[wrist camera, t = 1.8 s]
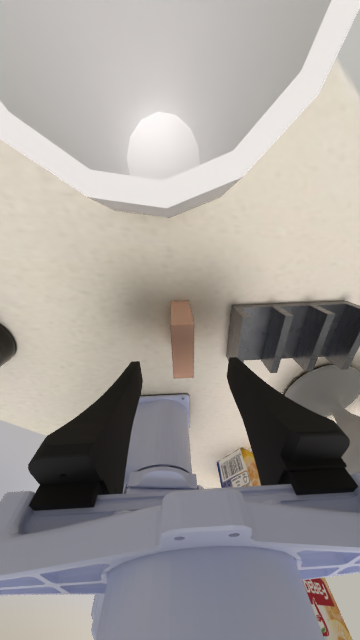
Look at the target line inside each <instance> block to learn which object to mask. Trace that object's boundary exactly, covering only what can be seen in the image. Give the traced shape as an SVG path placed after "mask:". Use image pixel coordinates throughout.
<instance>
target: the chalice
mask: <svg viewBox="0 0 360 640" xmlns="http://www.w3.org/2000/svg"><path fill="white" fill-rule="evenodd" d="M359 393H360V372H359V371H358V370H357V369H356V368H354V367H351V366H349V367H348V369H344V370H341V369H339V368H338V367H337V366H336V365H327V366H323V367H319V368H317V369H314V370H312V371H310V372H308V373H306V374H304V375H302V376H301V377H300V378H298V379H297V380H296V381H294V383H293V384H292V385H291V386H290V387H289V388H288V390H287V391H286V393H285V395H284V396H286V397H288V398H289V399H291V400H293V401H294V402H296V403H298V404H300V405H301V406H303V407H305V408H307V409H309V410H311V411H313V412H315V413H317V414H319V415H322V416H324V417H327V416H330V415H333V416H334V418H335V420H336V422H337V425H338V426H339V427H340V428H341V430H342V431H343V432H344V433H345V434H346V435H347V436H348V438H349V439H350V445H349V447H348V449H347V450H346V452H345V453H344V454H343V456H342V457H341V458H342V459H343V461H344V462H345V463H346V465H347V467H346V468H345V469H346V470H347V472H348V473H349V474H350V475H351V474H353V473H357V472H360V417H359V416H356V415H354V414H351V413H350V412H348V411H347V410H345V409H344V408H346V407H347V406H348V405H350V404H351V403H352V402H353V401H354V400H355V399H356V398H357V397H358V395H359Z"/></svg>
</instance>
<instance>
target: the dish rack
mask: <svg viewBox="0 0 360 640" xmlns="http://www.w3.org/2000/svg"><path fill="white" fill-rule="evenodd" d="M359 346H360V306H359V305H356V304H353V303H350V302H348V301H326V302H300V303H274V304H249V305H232V311H231V320H230V328H229V337H228V346H227V355H226V357H227V359H228V361H229V357H237V358H238V359H239V360H241V361H242V362H243V361H244V360H260V359H261V361H262V362H263V363H264V365H265V366H266V368H267V369H268V370H269V372H270V373H277V371H278V367H279V364H280V360H281V359H282V358H293V359H294V360H295V361H296V362H297V363H298V364H299V365H300V366H301V367H302V368H303V369H304V370H305V371H312V370H313V368H314V366H315V363H316V361H317V358H318V357H325V358H327V359H328V360H329V361H330V362H332V363H333V364H334V365H336V366H337V367H338V368H339V369H341V370H344V369H348V367H349V365H350V363H351V361H352V360H353V358H354V356H355V354H356V352H357V350H358V348H359Z"/></svg>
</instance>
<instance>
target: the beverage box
mask: <svg viewBox="0 0 360 640" xmlns="http://www.w3.org/2000/svg"><path fill="white" fill-rule="evenodd" d="M217 466H218V471H219V476H220V482H221V487H222V488H231V487H248V486H261V483H260V479H259V475H258V471H257V467H256V463H255V459H254V456H253V453H251V452H249V451H247V450H245V449H243V448H240V449H238V450H237V451H235V452H233V453H232V454H230V455H228V456H227V457H225V458H223V459H222V460H220V461H219V462H217ZM302 581H303V584H304V586H305V589H306V592H307V594H308V597H309V600H310V602H311V605H312V608H313V610H314V613H315V616H316V618H317V621H318V624H319V626H320V629H321V631H322V634H323V637H324V639H325V640H352V638H351V636H350V634H349V631H348V629H347V627H346V625H345V622H344V620H343V618H342V616H341V614H340V611H339V609H338V607H337V604H336V602H335V600H334V598H333V595H332V593H331V591H330V589H329V586H328V584H327V582H326V580H325V577H323V578H315V579H308V580H302Z"/></svg>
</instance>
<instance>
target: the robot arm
mask: <svg viewBox="0 0 360 640" xmlns="http://www.w3.org/2000/svg"><path fill="white" fill-rule="evenodd" d="M227 379H228V383H229V386H230V389H231V392H232V394H233V397H234V399H235V402H236V404H237V407H238V409H239V411H240V414H241V416H242V419H243V422H244V425H245V428H246V431H247V435H248V438H249V441H250V445H251V448H252V452H253V456H254V459H255V463H256V467H257V471H258V475H259V479H260V483H261V486H248V487H231V488H213V489H203V487H202V486H200V485H197V480H196V474H192V468H191V455H190V442H189V430H188V428H189V427H190V397H189V395H188V394H181V395H160V396H140V395H141V389H142V382H143V380H142V374H141V368H140V362H139V361H137V362H131V363H130V364H129V366H128V367H127V368H126V369H125V371H124V372H123V373H122V374H121V376H120V377H119V378H118V379H117V380H116V382H115V383H114V384H113V385H112V386H111V387H110V388H109V389H108V390H107V391H106V392H105V393H104V394H103V395H102V396H101V397H100V398H99V399H98V400H97V401H96V402H95V403H94V404H92V405H91V406H90V407H89V408H87V409H86V410H85V411H84V412H82V413H81V414H80V415H78V416H77V417H76V418H74V419H73V420H71V421H70V422H69V423H67V424H66V425H64V426H62V427H61V428H59V429H58V430H56V431H55V432H53V433H51V434H50V435H48V436H47V437H46V438H45V440H44V441H43V443H42V444H41V446H40V448H39V449H38V450H37V452H36V454H35V455H34V457H33V458H32V460H31V461H30V463H29V465H28V466H29V467H28V469H29V471H30V473H31V475H32V476H33V477H34V478H35V479H36V481H37V482H38V483H39V484H40V486H39V488H38V489H37V491H36V493H34V492H31V491H24V492H23V491H21V492H8V493H6V494H5V495H4V496H3V498H2V500H1V501H0V596H1V595H27V594H28V595H29V594H32V595H33V594H95V596H94V602H93V607H92V613H91V616H92V619H93V624H92V629H91V630H92V635H93V638H94V640H325V639H324V637H323V634H322V631H321V629H320V626H319V624H318V621H317V618H316V616H315V613H314V610H313V608H312V605H311V602H310V600H309V597H308V594H307V592H306V589H305V586H304V584H303V581H302V580H308V579H315V578H323V577H330V576H338V575H344V574H353V573H360V472H357V473H353V474H351V475H350V474H349V473H348V472H347V470H346V469H345V468H346V467H347V465H346V463H345V462H344V461H343V459H342V458H341V457H342V456H343V454H344V453H345V452H346V450H347V449H348V447H349V445H350V439H349V438H348V436H347V435H346V434H345V433H344V432H343V431H342V430H341V428H340V427H339V426H338V425H337V424H336V423H335V422H334V421H332V420H330V419H328V418H326V417H324V416H322V415H319V414H317V413H315V412H313V411H311V410H309V409H307V408H305V407H303V406H301V405H300V404H298V403H296V402H294V401H293V400H291V399H289V398H288V397H286V396H284V395H283V394H281V393H280V392H278V391H277V390H275V389H274V388H272V387H271V386H270V385H268V384H267V383H266V382H264V381H263V380H262V379H261V378H259V377H258V376H257V375H256V374H255V373H254V372H252V371H251V370H250V369H249V368H248V367H247V366H246V365H245V364H244V363H243V362H242V361H241V360H239V359H238V358H237V357H229V364H228V372H227ZM183 397H184V398H183ZM127 485H128V486H127Z"/></svg>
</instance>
